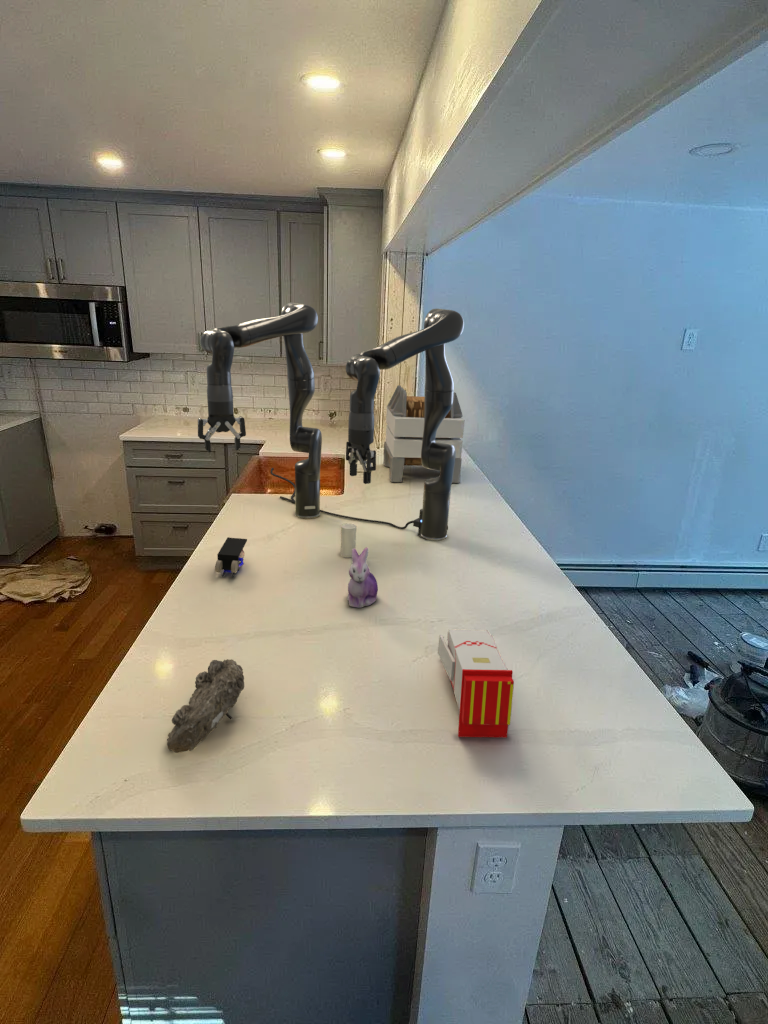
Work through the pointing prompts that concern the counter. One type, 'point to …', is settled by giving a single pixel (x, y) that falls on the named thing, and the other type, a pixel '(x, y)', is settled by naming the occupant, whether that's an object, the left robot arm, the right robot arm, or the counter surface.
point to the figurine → (361, 581)
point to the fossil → (206, 705)
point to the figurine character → (230, 556)
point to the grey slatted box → (417, 433)
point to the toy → (478, 682)
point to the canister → (348, 539)
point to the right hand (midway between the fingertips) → (359, 479)
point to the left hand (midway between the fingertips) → (223, 450)
